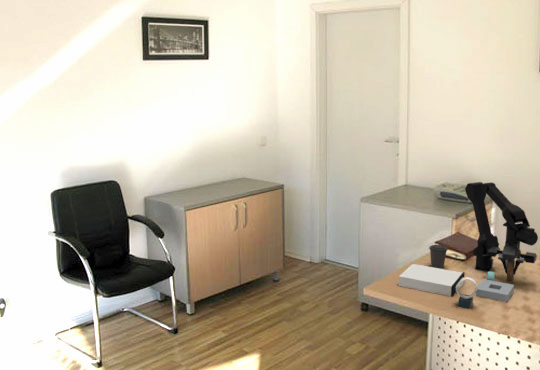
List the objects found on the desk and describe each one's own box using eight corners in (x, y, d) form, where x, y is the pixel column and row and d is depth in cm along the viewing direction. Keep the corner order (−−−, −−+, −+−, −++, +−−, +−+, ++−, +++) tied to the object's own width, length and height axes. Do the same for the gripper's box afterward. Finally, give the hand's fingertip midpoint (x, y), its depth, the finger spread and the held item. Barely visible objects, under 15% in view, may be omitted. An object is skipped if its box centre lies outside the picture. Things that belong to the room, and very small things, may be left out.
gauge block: (475, 295, 244) (475, 288, 243) (483, 286, 253) (483, 279, 253) (507, 302, 237) (507, 295, 237) (513, 291, 247) (514, 285, 246)
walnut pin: (505, 281, 259) (507, 260, 257) (506, 279, 261) (508, 258, 259) (512, 282, 257) (514, 262, 255) (513, 280, 259) (515, 260, 257)
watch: (456, 300, 239) (457, 273, 237) (477, 304, 236) (479, 277, 233) (453, 305, 234) (454, 278, 232) (474, 309, 231) (476, 282, 228)
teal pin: (486, 284, 255) (486, 273, 254) (487, 282, 258) (488, 271, 256) (493, 285, 254) (493, 274, 253) (494, 283, 256) (495, 272, 255)
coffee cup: (432, 262, 281) (433, 242, 279) (449, 266, 276) (450, 245, 274) (425, 268, 274) (426, 246, 272) (442, 271, 270) (444, 250, 268)
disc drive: (452, 298, 243) (453, 286, 242) (398, 287, 254) (398, 275, 253) (464, 283, 258) (465, 272, 256) (412, 273, 269) (412, 263, 268)
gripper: (485, 240, 253) (482, 275, 257) (533, 247, 243) (530, 284, 247) (491, 233, 262) (489, 267, 266) (538, 240, 253) (535, 275, 256)
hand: (510, 273), depth 258 cm, fingers closed on walnut pin, 3 cm apart
